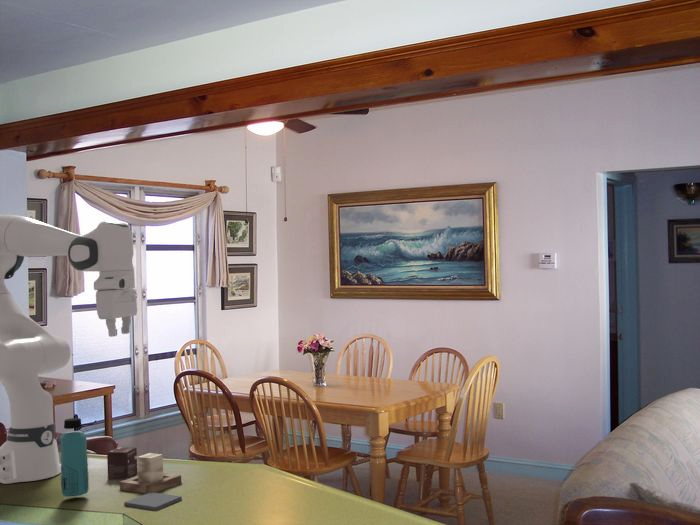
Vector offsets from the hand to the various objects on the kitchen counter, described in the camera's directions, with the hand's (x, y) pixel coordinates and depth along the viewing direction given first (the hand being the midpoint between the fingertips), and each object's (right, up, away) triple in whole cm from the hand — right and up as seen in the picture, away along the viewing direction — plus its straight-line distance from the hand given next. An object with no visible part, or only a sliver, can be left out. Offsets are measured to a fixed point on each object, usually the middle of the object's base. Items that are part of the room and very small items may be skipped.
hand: (119, 335), depth 198 cm
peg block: (+8, -40, -1) cm, 40 cm away
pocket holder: (+8, -39, -1) cm, 40 cm away
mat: (+13, -39, -16) cm, 44 cm away
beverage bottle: (-8, -40, -10) cm, 42 cm away
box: (-2, -40, +11) cm, 42 cm away
